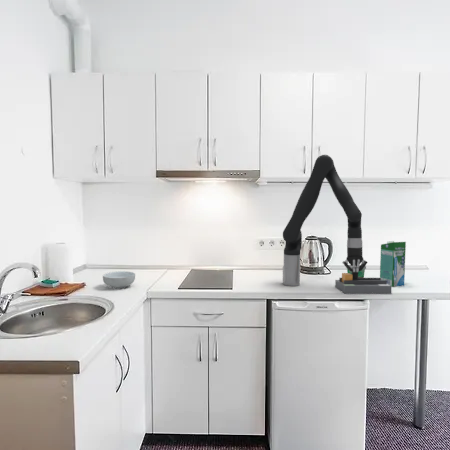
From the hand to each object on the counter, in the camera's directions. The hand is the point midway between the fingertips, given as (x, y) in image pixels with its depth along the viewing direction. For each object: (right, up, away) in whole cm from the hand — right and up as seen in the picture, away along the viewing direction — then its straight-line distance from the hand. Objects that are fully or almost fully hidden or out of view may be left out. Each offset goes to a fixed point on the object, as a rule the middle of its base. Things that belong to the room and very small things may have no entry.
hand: (355, 278), depth 175 cm
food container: (+10, -5, +20) cm, 23 cm away
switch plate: (+4, -6, 0) cm, 7 cm away
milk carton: (+27, -6, +15) cm, 31 cm away
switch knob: (-4, -2, 0) cm, 5 cm away
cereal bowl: (-127, -6, +6) cm, 127 cm away
